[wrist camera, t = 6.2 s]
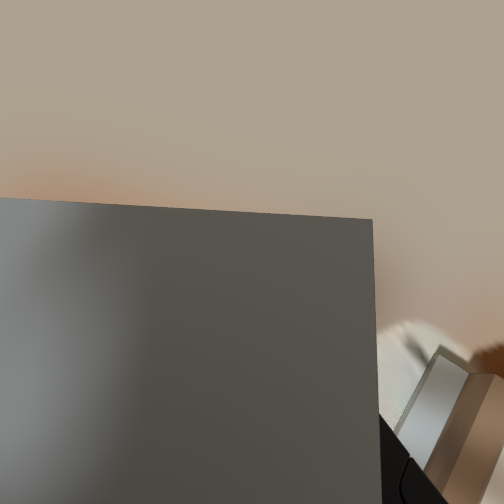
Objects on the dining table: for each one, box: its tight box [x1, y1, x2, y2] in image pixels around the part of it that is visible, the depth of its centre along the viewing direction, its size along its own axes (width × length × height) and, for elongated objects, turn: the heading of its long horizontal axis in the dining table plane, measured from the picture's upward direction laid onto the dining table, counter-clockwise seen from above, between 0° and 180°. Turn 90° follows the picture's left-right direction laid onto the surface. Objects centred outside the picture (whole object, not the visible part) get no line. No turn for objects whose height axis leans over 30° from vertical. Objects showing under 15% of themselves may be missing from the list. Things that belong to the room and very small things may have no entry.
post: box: [0, 198, 382, 504], centre depth 8 cm, size 5×5×13 cm
